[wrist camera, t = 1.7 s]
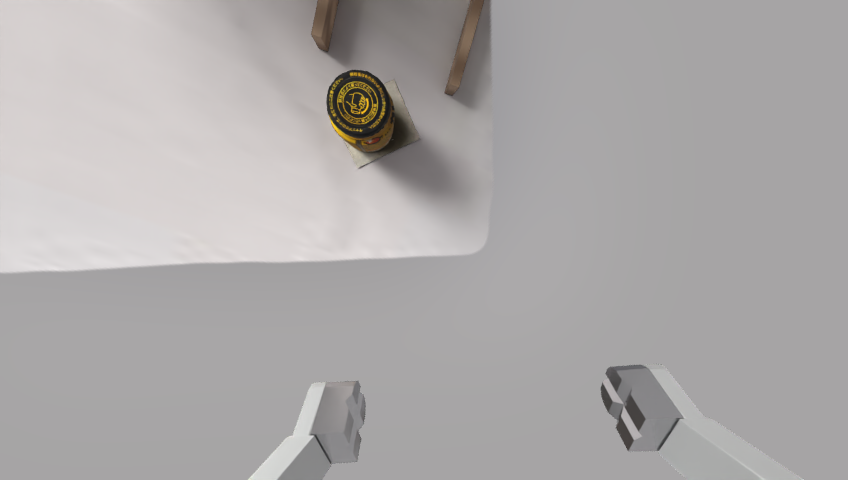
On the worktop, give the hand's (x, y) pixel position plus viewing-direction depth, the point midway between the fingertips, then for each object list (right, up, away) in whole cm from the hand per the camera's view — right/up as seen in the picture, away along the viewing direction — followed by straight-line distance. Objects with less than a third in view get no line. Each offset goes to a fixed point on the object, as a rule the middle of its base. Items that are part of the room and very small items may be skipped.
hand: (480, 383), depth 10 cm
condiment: (-8, +19, +26) cm, 33 cm away
